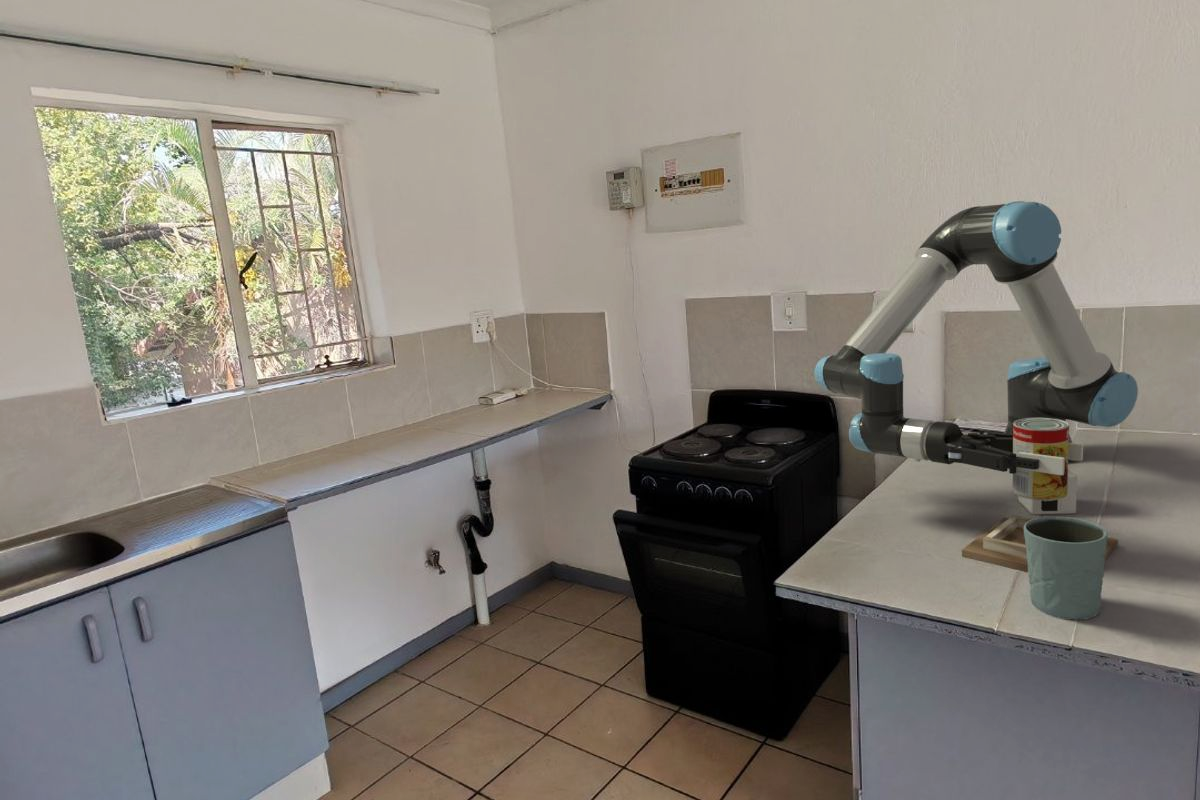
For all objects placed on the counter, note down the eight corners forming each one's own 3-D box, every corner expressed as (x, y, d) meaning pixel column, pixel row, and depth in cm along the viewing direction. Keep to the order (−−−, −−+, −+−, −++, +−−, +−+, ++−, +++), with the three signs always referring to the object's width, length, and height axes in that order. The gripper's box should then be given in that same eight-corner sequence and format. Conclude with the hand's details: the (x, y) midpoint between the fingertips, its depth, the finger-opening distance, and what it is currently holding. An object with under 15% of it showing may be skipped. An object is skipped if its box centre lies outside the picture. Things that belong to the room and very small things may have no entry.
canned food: (1078, 494, 120) (1081, 424, 118) (1040, 504, 118) (1042, 432, 116) (1038, 481, 128) (1039, 415, 125) (1001, 490, 126) (1002, 422, 123)
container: (1076, 514, 138) (1078, 447, 136) (1031, 515, 140) (1032, 449, 137) (1060, 499, 146) (1061, 436, 143) (1017, 501, 147) (1018, 438, 145)
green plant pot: (1113, 625, 101) (1116, 544, 99) (1030, 619, 105) (1030, 541, 103) (1093, 591, 111) (1096, 516, 108) (1017, 587, 114) (1018, 514, 112)
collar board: (1004, 523, 138) (1004, 508, 137) (1118, 545, 124) (1118, 529, 123) (961, 556, 126) (961, 539, 126) (1081, 584, 113) (1082, 566, 112)
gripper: (958, 447, 142) (1093, 465, 125) (905, 475, 130) (1048, 500, 112) (957, 409, 141) (1095, 422, 124) (904, 434, 128) (1049, 453, 111)
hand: (1072, 459), depth 118 cm, fingers closed on canned food, 8 cm apart
